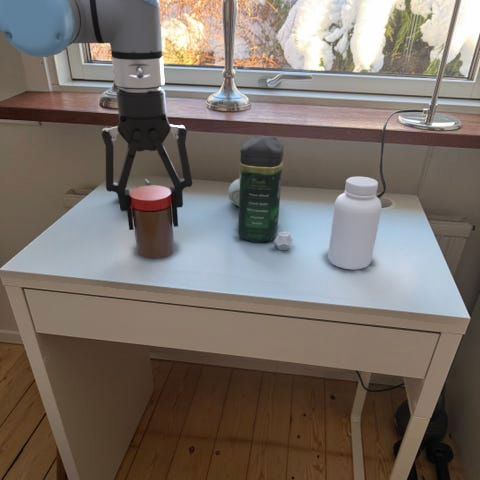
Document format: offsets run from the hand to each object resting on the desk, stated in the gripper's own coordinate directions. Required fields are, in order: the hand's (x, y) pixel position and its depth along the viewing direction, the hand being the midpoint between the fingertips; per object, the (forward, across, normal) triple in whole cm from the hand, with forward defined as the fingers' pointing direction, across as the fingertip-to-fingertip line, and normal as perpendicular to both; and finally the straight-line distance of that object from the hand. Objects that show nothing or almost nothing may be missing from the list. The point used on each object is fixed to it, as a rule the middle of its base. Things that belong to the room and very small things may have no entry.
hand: (153, 225), depth 86 cm
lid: (-6, 0, 0) cm, 6 cm away
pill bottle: (+5, +35, -11) cm, 37 cm away
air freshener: (+5, +23, +18) cm, 30 cm away
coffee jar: (+5, +21, +4) cm, 22 cm away
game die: (+5, +24, -4) cm, 25 cm away
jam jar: (+5, 0, 0) cm, 5 cm away
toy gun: (+5, -2, +22) cm, 23 cm away
